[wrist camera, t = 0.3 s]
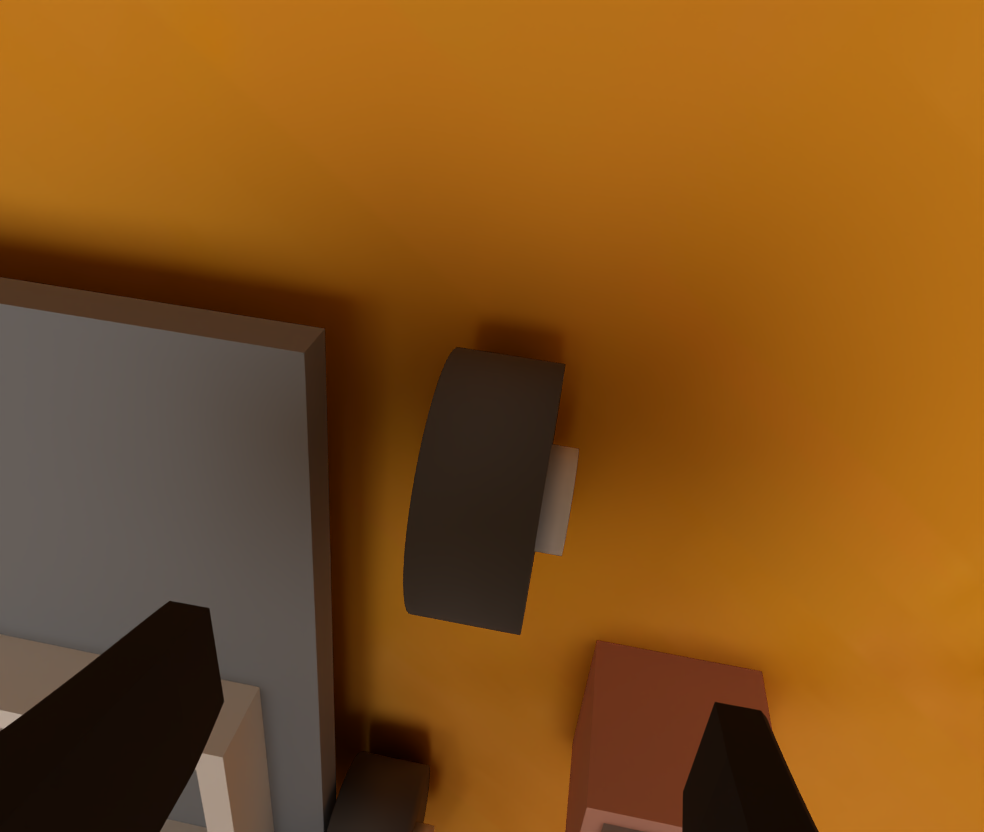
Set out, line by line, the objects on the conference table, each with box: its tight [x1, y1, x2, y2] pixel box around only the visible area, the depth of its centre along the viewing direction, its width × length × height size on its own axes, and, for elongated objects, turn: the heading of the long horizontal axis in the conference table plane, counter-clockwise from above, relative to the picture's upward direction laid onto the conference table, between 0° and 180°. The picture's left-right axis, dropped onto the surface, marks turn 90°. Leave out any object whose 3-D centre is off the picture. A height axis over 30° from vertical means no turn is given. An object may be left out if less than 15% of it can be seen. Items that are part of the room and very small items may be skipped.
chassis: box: [0, 277, 434, 832], centre depth 22 cm, size 22×19×6 cm
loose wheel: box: [403, 347, 579, 635], centre depth 17 cm, size 6×3×6 cm, turn 175°
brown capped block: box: [565, 640, 772, 832], centre depth 22 cm, size 5×5×6 cm
